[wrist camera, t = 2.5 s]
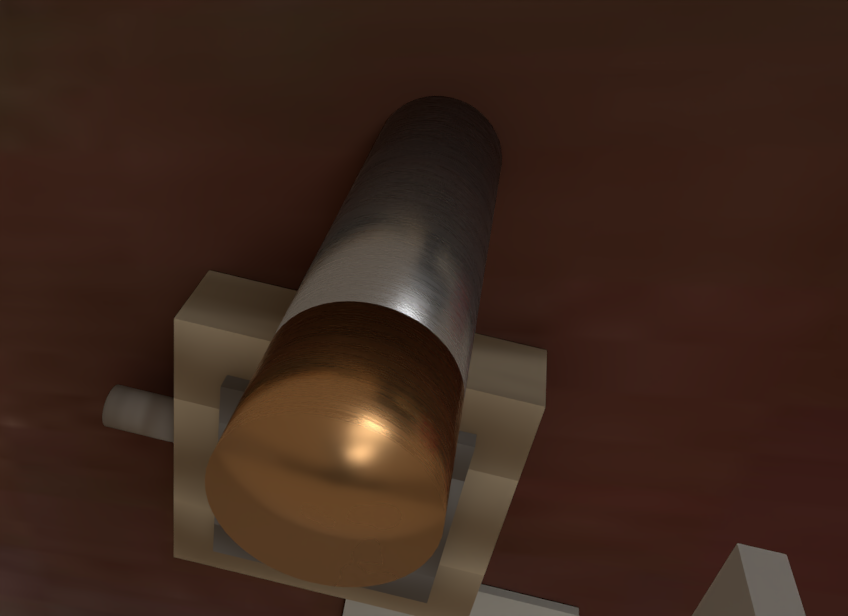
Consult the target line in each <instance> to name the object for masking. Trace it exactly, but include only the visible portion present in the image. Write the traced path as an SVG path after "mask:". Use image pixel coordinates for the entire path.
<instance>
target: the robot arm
mask: <svg viewBox="0 0 848 616" xmlns="http://www.w3.org/2000/svg"><path fill="white" fill-rule="evenodd" d="M692 616H806V615H805V612H804V609H803V606H802V603H801V599H800V596H799V593H798V590H797V587H796V583H795V580H794V577H793V574H792V571H791V567H790V564H789V561H788V558H787V555H786V554H782V553H778V552H773V551H769V550H765V549H760V548H756V547H752V546H747V545H743V544H739V543H737V544H736V546H735V548H734V549H733V551H732V552H731V554H730V556H729V557H728V559H727V560H726V562H725V564H724V565H723V567H722V568H721V570H720V572H719V573H718V575H717V576H716V578H715V580H714V581H713V583H712V584H711V586H710V588H709V589H708V591H707V592H706V594H705V596H704V597H703V599H702V600H701V602H700V604H699V605H698V607H697V608H696V610H695V612H694V613H693V615H692Z"/></svg>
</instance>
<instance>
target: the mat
mask: <svg viewBox="0 0 848 616" xmlns="http://www.w3.org/2000/svg"><path fill="white" fill-rule="evenodd" d="M343 616H414V615H409V614H405V613H401V612H397V611H393V610H389V609H385V608H381V607H377V606H373V605H368V604H364V603H360V602H356V601H352V600H348V599H346V602H345V606H344V611H343ZM469 616H579V608H577V607H573V606H569V605H565V604H561V603H557V602H553V601H549V600H544V599H540V598H536V597H532V596H528V595H524V594H520V593H516V592H512V591H507V590H503V589H499V588H495V587H491V586H487V585H483V584H481V585H480V588H479V591H478V593H477V596H476V599H475V602H474V604H473V607H472V610H471V613H470V615H469Z"/></svg>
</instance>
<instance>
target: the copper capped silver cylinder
mask: <svg viewBox="0 0 848 616" xmlns="http://www.w3.org/2000/svg"><path fill="white" fill-rule="evenodd" d="M501 165H502V152H501V146H500V142H499V139H498V136H497V134H496V132H495V130H494V128H493V126H492V125H491V124H490V122H489V121H488V120H487V119H486V118H485V117H484V115H483V114H482V113H480V112H479V111H478V110H477V109H475V108H474V107H472V106H471V105H469V104H467V103H465V102H463V101H460V100H457V99H454V98H450V97H444V96H429V97H423V98H419V99H416V100H413V101H411V102H409V103H407V104H405V105H403V106H402V107H400V108H399V109H398V110H396V111H395V112H394V113H393V114H392V115H391V116H390V118H389V119H388V120H387V122H386V123H385V125H384V127H383V129H382V130H381V132H380V134H379V136H378V138H377V140H376V142H375V144H374V146H373V148H372V149H371V151H370V153H369V155H368V157H367V159H366V161H365V163H364V165H363V167H362V169H361V170H360V172H359V174H358V176H357V178H356V180H355V182H354V184H353V186H352V188H351V190H350V191H349V193H348V195H347V197H346V199H345V201H344V203H343V205H342V207H341V209H340V211H339V212H338V214H337V216H336V218H335V220H334V222H333V224H332V226H331V228H330V230H329V232H328V233H327V235H326V237H325V239H324V241H323V243H322V245H321V247H320V249H319V251H318V253H317V254H316V256H315V258H314V260H313V262H312V264H311V266H310V268H309V270H308V272H307V274H306V275H305V277H304V279H303V281H302V283H301V285H300V287H299V289H298V291H297V293H296V295H295V296H294V298H293V300H292V302H291V304H290V306H289V308H288V310H287V312H286V314H285V315H284V317H283V319H282V321H281V323H280V325H279V327H278V329H277V331H276V333H275V335H274V336H273V338H272V340H271V342H270V344H269V346H268V348H267V350H266V352H265V354H264V356H263V357H262V359H261V361H260V363H259V365H258V367H257V369H256V371H255V373H254V375H253V377H252V378H251V380H250V382H249V384H248V386H247V388H246V390H245V392H244V394H243V396H242V398H241V399H240V401H239V403H238V405H237V407H236V409H235V411H234V413H233V415H232V417H231V419H230V420H229V422H228V424H227V426H226V428H225V430H224V432H223V434H222V436H221V438H220V440H219V441H218V443H217V445H216V447H215V449H214V451H213V453H212V455H211V457H210V459H209V462H208V465H207V468H206V474H205V491H206V495H207V499H208V503H209V505H210V508H211V510H212V512H213V514H214V516H215V518H216V519H217V521H218V523H219V524H220V525H221V527H222V528H223V529H224V531H225V532H226V533H227V534H228V535H229V536H230V537H231V539H232V540H233V541H234V542H235V543H236V544H238V545H239V546H240V547H241V548H242V549H243V550H245V551H246V552H247V553H249V554H250V555H251V556H253V557H254V558H256V559H257V560H259V561H260V562H262V563H264V564H266V565H267V566H269V567H271V568H273V569H275V570H277V571H280V572H282V573H284V574H287V575H289V576H292V577H295V578H297V579H301V580H304V581H308V582H312V583H317V584H322V585H327V586H336V587H368V586H374V585H381V584H384V583H388V582H392V581H395V580H397V579H400V578H402V577H405V576H407V575H409V574H410V573H412V572H414V571H416V570H417V569H418V568H420V567H421V566H422V565H423V564H425V563H426V562H427V561H428V559H429V558H430V557H431V556H432V555H433V553H434V552H435V550H436V549H437V547H438V545H439V543H440V540H441V538H442V534H443V529H444V524H445V517H446V511H447V505H448V499H449V492H450V486H451V480H452V473H453V467H454V461H455V455H456V448H457V442H458V436H459V429H460V423H461V417H462V410H463V404H464V398H465V392H466V385H467V379H468V373H469V366H470V360H471V354H472V348H473V341H474V335H475V329H476V322H477V316H478V310H479V304H480V297H481V291H482V285H483V278H484V272H485V266H486V260H487V253H488V247H489V241H490V234H491V228H492V222H493V215H494V209H495V203H496V197H497V190H498V184H499V178H500V171H501Z"/></svg>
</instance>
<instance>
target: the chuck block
mask: <svg viewBox="0 0 848 616" xmlns="http://www.w3.org/2000/svg"><path fill="white" fill-rule="evenodd" d="M296 293H297V291H295V290H291V289H287V288H282V287H278V286H274V285H270V284H265V283H261V282H257V281H253V280H249V279H244V278H240V277H236V276H232V275H228V274H223V273H219V272H215V271H211V270H209V271H208V272H207V274H206V275H205V277H204V278H203V279H202V281H201V282H200V283H199V285H198V286H197V288H196V289H195V290H194V292H193V293H192V294H191V296H190V297H189V299H188V300H187V301H186V303H185V304H184V305H183V307H182V308H181V309H180V311H179V312H178V314H177V315H176V316H175V318H174V398H173V397H169V396H165V395H160V394H156V393H152V392H148V391H144V390H140V389H135V388H131V387H127V386H123V385H116V386H114V387H113V388H112V390H111V391H110V393H109V395H108V397H107V399H106V401H105V404H104V408H103V414H102V421H103V424H104V426H107V427H111V428H115V429H119V430H123V431H127V432H132V433H136V434H140V435H144V436H148V437H152V438H156V439H161V440H165V441H169V442H173V443H174V557H176V558H180V559H184V560H188V561H192V562H196V563H201V564H205V565H209V566H213V567H217V568H221V569H225V570H229V571H233V572H237V573H241V574H246V575H250V576H254V577H258V578H262V579H266V580H270V581H274V582H278V583H282V584H287V585H291V586H295V587H299V588H303V589H307V590H311V591H315V592H319V593H323V594H328V595H332V596H336V597H340V598H344V599H348V600H352V601H356V602H360V603H364V604H368V605H373V606H377V607H381V608H385V609H389V610H393V611H397V612H401V613H405V614H409V615H414V616H469V615H470V613H471V610H472V607H473V604H474V602H475V599H476V596H477V593H478V591H479V588H480V585H481V582H482V580H483V577H484V574H485V571H486V569H487V566H488V563H489V560H490V558H491V555H492V552H493V550H494V547H495V544H496V541H497V539H498V536H499V533H500V530H501V528H502V525H503V522H504V519H505V517H506V514H507V511H508V508H509V506H510V503H511V500H512V497H513V495H514V492H515V489H516V486H517V484H518V481H519V478H520V475H521V473H522V470H523V467H524V464H525V462H526V459H527V456H528V454H529V451H530V448H531V445H532V443H533V440H534V437H535V434H536V432H537V429H538V426H539V423H540V421H541V418H542V415H543V412H544V410H545V406H546V368H547V350H544V349H539V348H535V347H531V346H527V345H523V344H518V343H514V342H510V341H506V340H501V339H497V338H493V337H489V336H485V335H480V334H476V333H475V335H474V341H473V348H472V354H471V360H470V366H469V373H468V379H467V385H466V392H465V398H464V404H463V410H462V417H461V423H460V429H459V436H458V442H457V448H456V455H455V461H454V467H453V473H452V480H451V486H450V492H449V499H448V505H447V511H446V517H445V524H444V529H443V534H442V538H441V540H440V543H439V545H438V547H437V549H436V550H435V552H434V553H433V555H432V556H431V557H430V558H429V559H428V561H427V562H426V563H425V564H423V565H422V566H421V567H420V568H418V569H417V570H416V571H414V572H412V573H410V574H409V575H407V576H405V577H402V578H400V579H397V580H395V581H392V582H388V583H384V584H381V585H374V586H368V587H336V586H327V585H322V584H317V583H312V582H308V581H304V580H301V579H297V578H295V577H292V576H289V575H287V574H284V573H282V572H280V571H277V570H275V569H273V568H271V567H269V566H267V565H266V564H264V563H262V562H260V561H259V560H257V559H256V558H254V557H253V556H251V555H250V554H249V553H247V552H246V551H245V550H243V549H242V548H241V547H240V546H239V545H238V544H236V543H235V542H234V541H233V540H232V539H231V537H230V536H229V535H228V534H227V533H226V532H225V531H224V529H223V528H222V527H221V525H220V524H219V523H218V521H217V519H216V518H215V516H214V514H213V512H212V510H211V508H210V505H209V503H208V499H207V495H206V491H205V474H206V468H207V465H208V462H209V459H210V457H211V455H212V453H213V451H214V449H215V447H216V445H217V443H218V441H219V440H220V438H221V436H222V434H223V432H224V430H225V428H226V426H227V424H228V422H229V420H230V419H231V417H232V415H233V413H234V411H235V409H236V407H237V405H238V403H239V401H240V399H241V398H242V396H243V394H244V392H245V390H246V388H247V386H248V384H249V382H250V380H251V378H252V377H253V375H254V373H255V371H256V369H257V367H258V365H259V363H260V361H261V359H262V357H263V356H264V354H265V352H266V350H267V348H268V346H269V344H270V342H271V340H272V338H273V336H274V335H275V333H276V331H277V329H278V327H279V325H280V323H281V321H282V319H283V317H284V315H285V314H286V312H287V310H288V308H289V306H290V304H291V302H292V300H293V298H294V296H295V295H296Z"/></svg>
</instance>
